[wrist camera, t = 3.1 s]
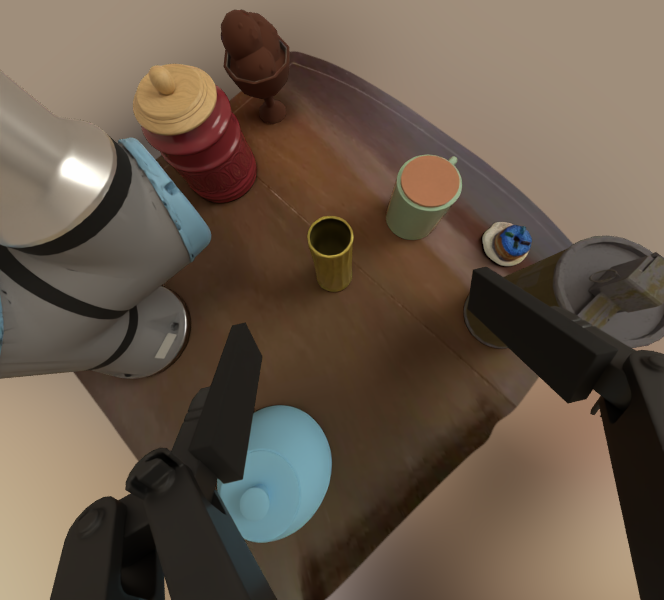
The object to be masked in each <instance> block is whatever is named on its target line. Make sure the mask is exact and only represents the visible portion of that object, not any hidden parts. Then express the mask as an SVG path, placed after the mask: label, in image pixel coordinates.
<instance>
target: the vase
mask: <svg viewBox="0 0 664 600" xmlns="http://www.w3.org/2000/svg"><path fill="white" fill-rule="evenodd" d="M307 239H308V245H309V249H310V251H311V255H312V258H313V261H314V265H315V270H316V278H317V281H318V283H319V285H320V286H321V287H322V288H323V289H325V290H327V291H331V292H337V291H341V290H343V289H345V288H346V287H347V286H348V285H349V284H350V282H351V279H352V248H353V240H354V239H353V231H352V229H351V227H350V225H349V224H348V223H347V222H346V221H345V220H344V219H342V218H339V217H335V216H325V217H321V218H319V219H318V220H316V221H315V222H314V223H313V224H312V225H311V226H310V228H309V231H308V234H307Z"/></svg>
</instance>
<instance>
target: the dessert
mask: <svg viewBox="0 0 664 600" xmlns="http://www.w3.org/2000/svg"><path fill="white" fill-rule="evenodd" d="M482 239H483V240H482V241H483V246H484V251H485V253H486V254H487V256H488V257H489V258H490V259H491V260H493V261H494V262H496V263H497V264H499V265H502V266H513V265H516V264H518V263H520V262H521V261H522V260H523V259H524V258H525V257H526V256H527V254H528V251H529V250H530V247H531V242H532V238H531V236H530V234H529V232H528V231H527V230H526V227H524V226H523V227H522V226H517V225H513V224H510V223H506V222H498V223H494V224H493V225H492V227H491V228H490V229H488V230H487V231H486V232H485V233H484V235H483V238H482Z"/></svg>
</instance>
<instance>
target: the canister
mask: <svg viewBox="0 0 664 600" xmlns="http://www.w3.org/2000/svg"><path fill="white" fill-rule="evenodd" d="M504 278H505V279H507V280H508V281H510V282H512V283H513V284H515V285H516V286H518V287H519V288H521V289H523V290H524V291H526V292H527V293H529V294H531V295H532V296H534V297H535V298H537V299H539V300H540V301H542V302H543V303H545V304H547V305H548V306H550V307H551V306H557V307H560V308H562V309H565V310H568V311H570V312H572V313H574V314H575V315H577V316H579V317H580V318H582V320H585V321H587V322H589V323H590V324H592V326H595V327H597V328H599V329H600V330H602V331H604V332H605V333H607V334H609V335H610V336H612V337H614V338H615V339H617V340H619V341H620V342H622V343H624V344H625V345H627V346H629V347H630V348H636V347H642V346H648V345H650V344H652V343H654V342H656V341H658V340H660V339H661V338H662V337H663V336H664V258H663V257H662V256H661V255H659V254H658V253H656V252H655V253H652V252H651V251H650V250H648V249H646V248H645V247H643V246H641V245H640V244H637V243H634V242H632V241H629V240H627V239H624V238H620V237H614V236H594V237H591V238H587V239H584V240H581V241H579V242H577V243H575V244H573V245H572V246H571V247H569V248H568V249H566V250H564V251H561V252H559V253H557V254H555V255H552V256H550V257H548V258H546V259H543V260H541V261H539V262H537V263H535V264H532V265H530V266H528V267H526V268H523V269H521V270H519V271H517V272H514V273H512V274H510V275H508V276H505V277H504ZM468 301H469V296H468V298H467V299H466V302H465V305H464V319H465V323H466V325H467V327H468V329H469V330H470V332H471V333H472V335H473V336H474V337H475V338H477V339H478V340H479V341H480V342H482V343H483V344H485V345H488V346H491V347H494V348H508V347H507V346H506V345H505V344H504V343H503V342H502V341H501V340H500V339H499V338H498V337H497V336H496V335H495V334H493V333H492V332H491V331H490V330H489V329H488V328H487V327H486V326H485V325H484V324H483V323H482V322H481V321H480V320H479V319H478V318H476V317H475V316H474V315H473V314H472V313H471V312H470V311H469V310H468V309H467V307H468Z"/></svg>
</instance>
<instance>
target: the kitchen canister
mask: <svg viewBox="0 0 664 600" xmlns="http://www.w3.org/2000/svg"><path fill="white" fill-rule="evenodd" d="M133 111H134V115H135V117H136V119H137V120H138V122H139V123H140V124H141V127H142V131H143V134H144V136H145V138H146V140H147V141H148V142H149V144H150V145H152V146H153V147H154V148H155V149H157V150H159V151H160V152H161V154H162V156H163V158H164V159H165V160H166V161H167V162H168V163H169V164H170V165H171V166H172V167H173V168H174V169H175V170H176V171H177V172H178V173H179V174H180V175H181V176H182V177H183V178H184V179H185V180H186V182H187V184H188V185H189V186H190V187H191V188H192V189H193V191H194V192H196V193H197V194H198V195H200V196H201V197H203V198H204V199H206V200H209V201H212V202H218V203H223V202H229V201H233V200H235V199H238V198H239V197H241V196H243V195H244V194H245V193H246V192H247V191H248V190H249V189H250V188H251V186H252V185H253V183H254V181H255V178H256V173H257V167H256V162H255V157H254V155H253V153H252V150H251V148H250V147H249V146H248V144H247V142H246V140H245V137H244V135H243V133H242V131H241V129H240V125H239V122H238V120H237V118H236V116H235V115H234V114H233V112H232V111H231V106H230V102H229V100H228V98H227V96H226V94H225V93H224V92H223V91H222V89H220V88H219V87H218V86H217V85H215V84H214V82H213V80H212V79H211V77H210V76H209V75H208V74H207V73H206V72H204V71H203V70H201V69H199V68H196V67H193V66H188V65H182V64H168V65H163V66H157V65H156V66H153V67H152V68H151V69H150V71H149V73H148V74H147V75H146V76H145V77H144V78H143V79H142V80H141V82H140V84H139V86H138V88H137V91H136V94H135V96H134V100H133Z"/></svg>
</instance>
